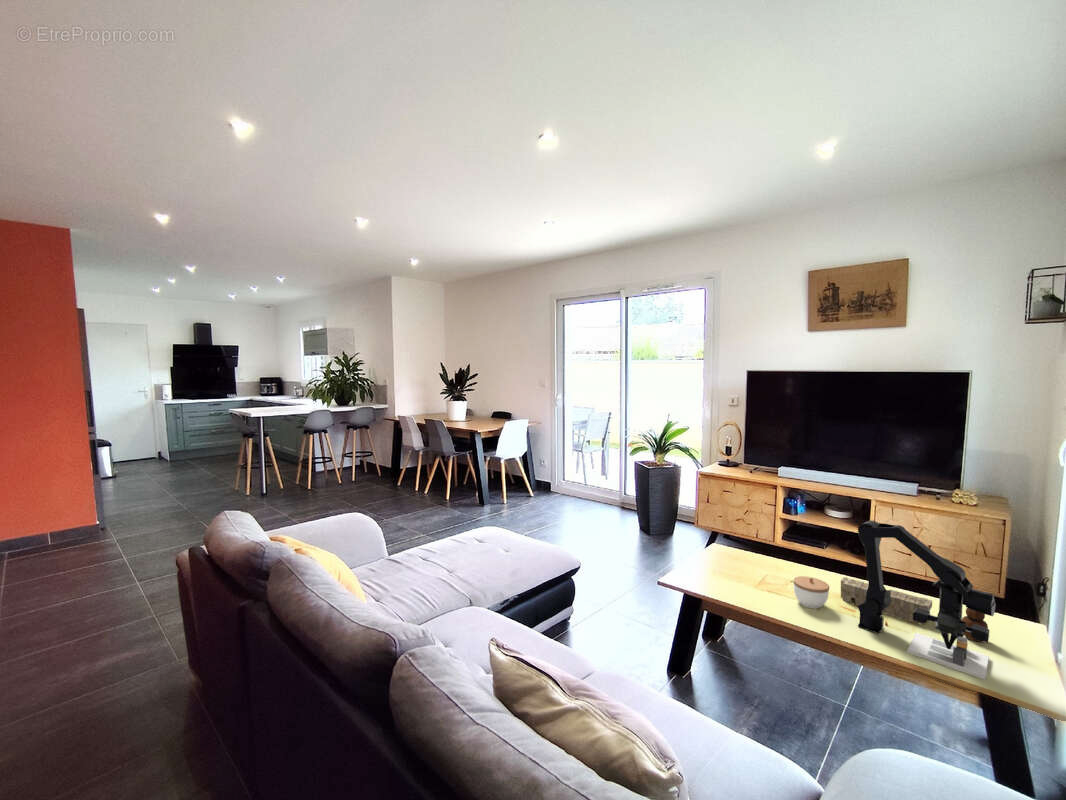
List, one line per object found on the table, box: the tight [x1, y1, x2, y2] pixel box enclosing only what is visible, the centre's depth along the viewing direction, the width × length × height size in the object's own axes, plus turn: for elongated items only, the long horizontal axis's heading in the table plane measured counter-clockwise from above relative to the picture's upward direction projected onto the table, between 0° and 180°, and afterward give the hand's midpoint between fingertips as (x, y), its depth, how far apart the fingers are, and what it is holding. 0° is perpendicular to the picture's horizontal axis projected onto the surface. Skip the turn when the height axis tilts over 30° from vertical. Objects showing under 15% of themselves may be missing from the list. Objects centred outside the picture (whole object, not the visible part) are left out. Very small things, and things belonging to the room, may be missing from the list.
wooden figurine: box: [962, 607, 989, 642], centre depth 166 cm, size 7×6×15 cm
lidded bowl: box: [793, 575, 830, 610], centre depth 192 cm, size 13×13×11 cm
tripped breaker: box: [955, 639, 969, 660], centre depth 154 cm, size 2×3×4 cm
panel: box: [907, 632, 990, 680], centre depth 156 cm, size 19×15×5 cm
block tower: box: [840, 576, 933, 626], centre depth 188 cm, size 8×8×29 cm
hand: (948, 648), depth 156 cm, fingers closed
